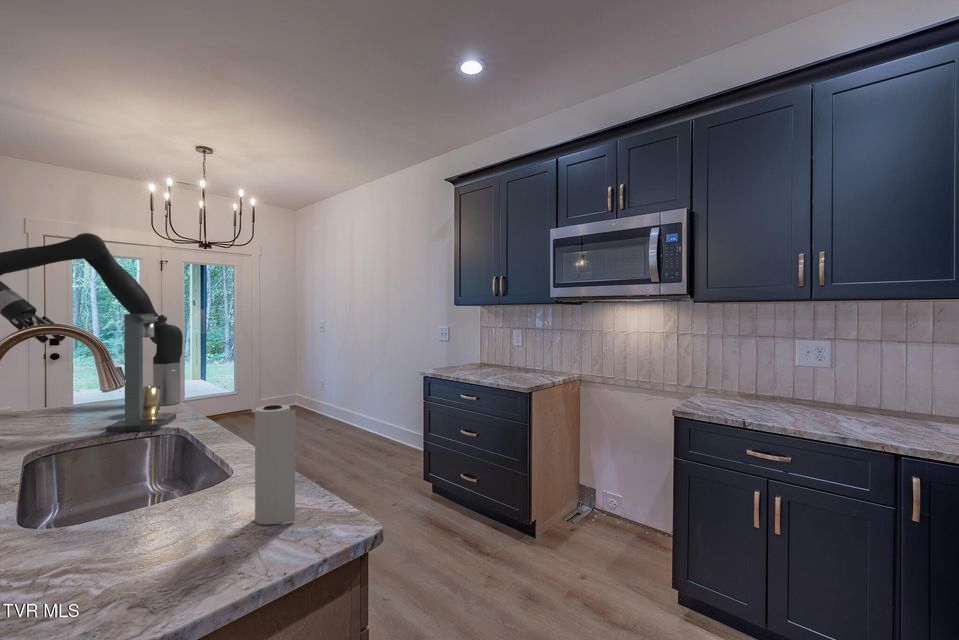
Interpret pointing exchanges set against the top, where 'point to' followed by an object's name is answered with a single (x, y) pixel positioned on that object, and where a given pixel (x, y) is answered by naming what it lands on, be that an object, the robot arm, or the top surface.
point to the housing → (150, 401)
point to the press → (137, 376)
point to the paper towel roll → (274, 464)
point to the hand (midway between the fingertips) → (54, 340)
